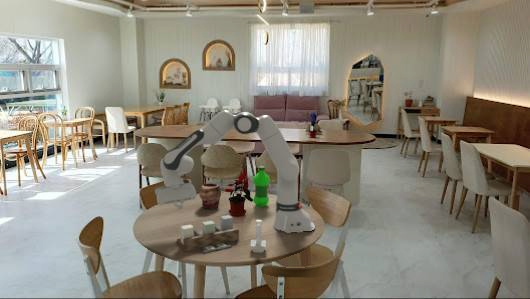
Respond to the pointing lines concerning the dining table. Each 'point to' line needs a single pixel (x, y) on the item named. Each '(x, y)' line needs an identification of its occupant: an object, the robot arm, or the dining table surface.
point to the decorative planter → (210, 195)
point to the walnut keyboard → (210, 240)
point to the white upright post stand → (258, 239)
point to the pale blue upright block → (226, 222)
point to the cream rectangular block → (187, 232)
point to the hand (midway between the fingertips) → (180, 209)
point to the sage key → (208, 227)
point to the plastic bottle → (261, 187)
